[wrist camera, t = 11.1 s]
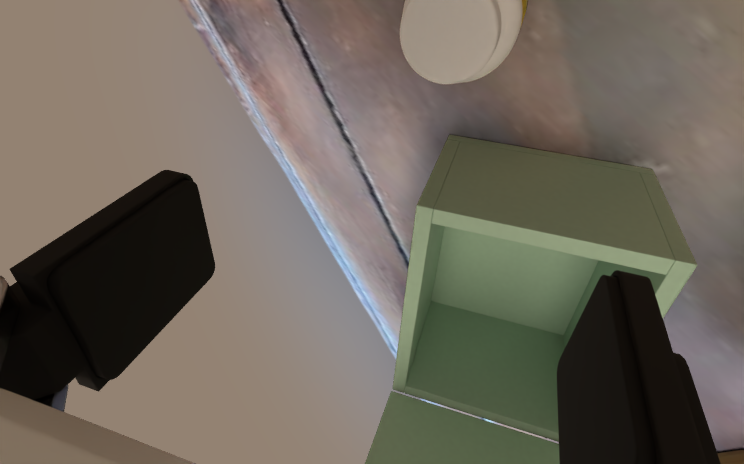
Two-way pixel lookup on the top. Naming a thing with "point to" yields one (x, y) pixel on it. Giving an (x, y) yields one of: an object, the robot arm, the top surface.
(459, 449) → the lid
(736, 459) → the caddy
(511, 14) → the supplement bottle
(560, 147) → the top surface
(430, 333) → the box
